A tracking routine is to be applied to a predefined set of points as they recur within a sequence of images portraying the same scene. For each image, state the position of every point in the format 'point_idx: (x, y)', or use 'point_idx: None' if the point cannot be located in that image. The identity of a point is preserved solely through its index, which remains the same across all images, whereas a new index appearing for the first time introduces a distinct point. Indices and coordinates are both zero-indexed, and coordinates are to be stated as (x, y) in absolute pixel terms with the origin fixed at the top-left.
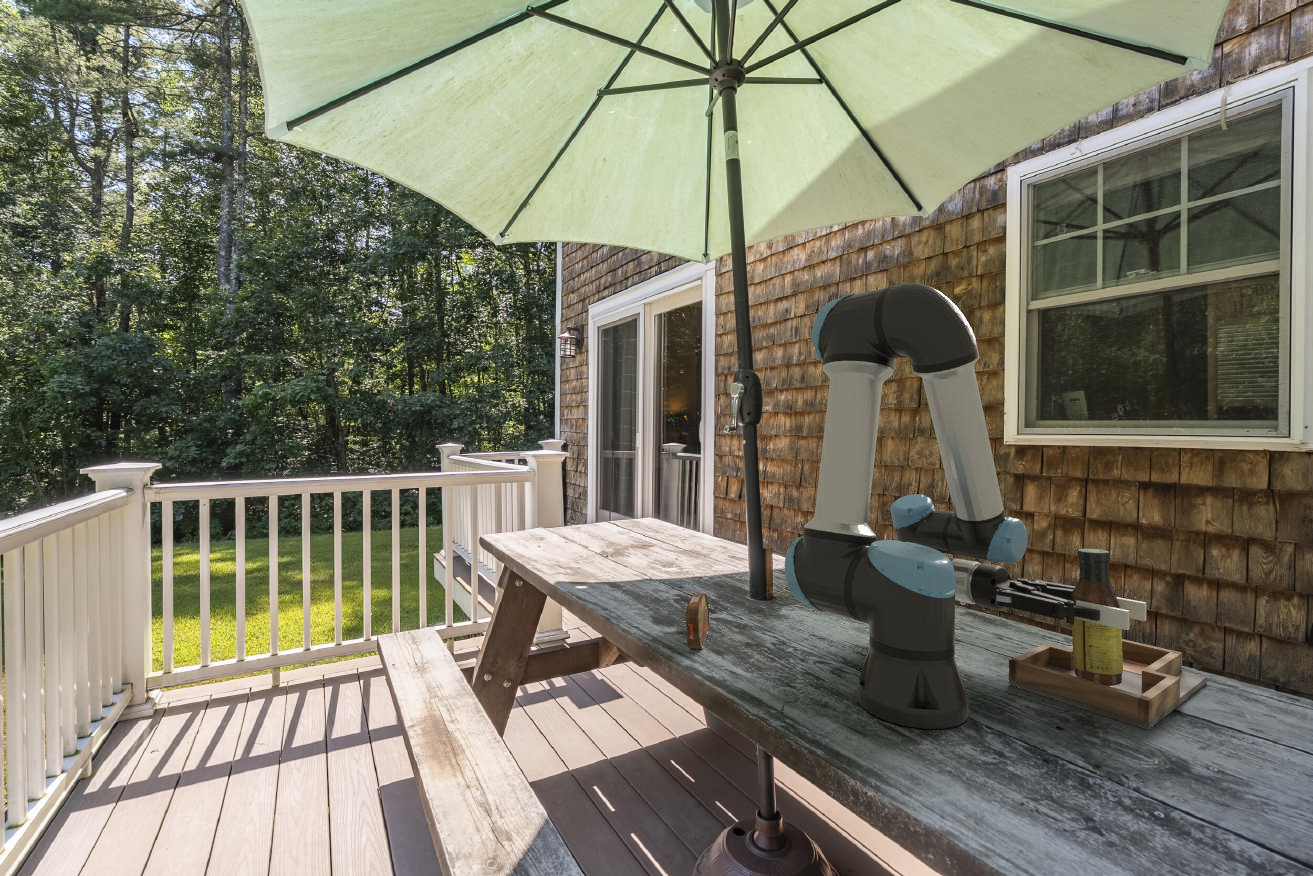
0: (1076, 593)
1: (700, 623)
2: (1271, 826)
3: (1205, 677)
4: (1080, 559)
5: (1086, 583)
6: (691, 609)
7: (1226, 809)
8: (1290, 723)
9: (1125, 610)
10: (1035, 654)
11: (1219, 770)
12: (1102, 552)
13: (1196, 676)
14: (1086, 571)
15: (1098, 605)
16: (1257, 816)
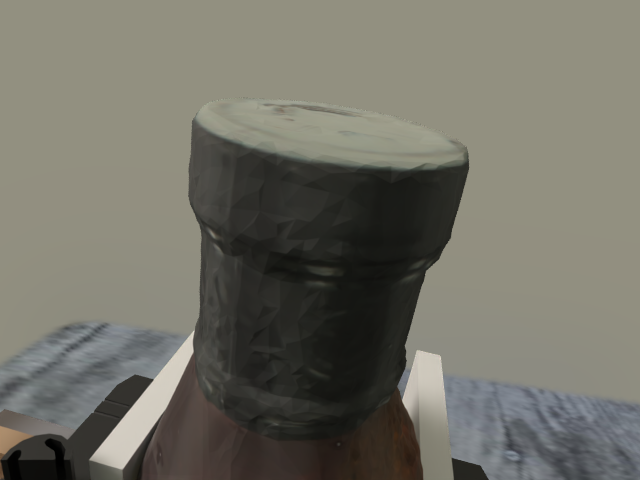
0: None
1: None
2: (613, 417)
3: (8, 411)
4: (413, 263)
5: (392, 414)
6: None
7: (633, 453)
8: None
9: (428, 359)
10: None
11: (509, 448)
12: (399, 118)
13: (4, 426)
14: (407, 332)
15: (445, 444)
16: (605, 426)
